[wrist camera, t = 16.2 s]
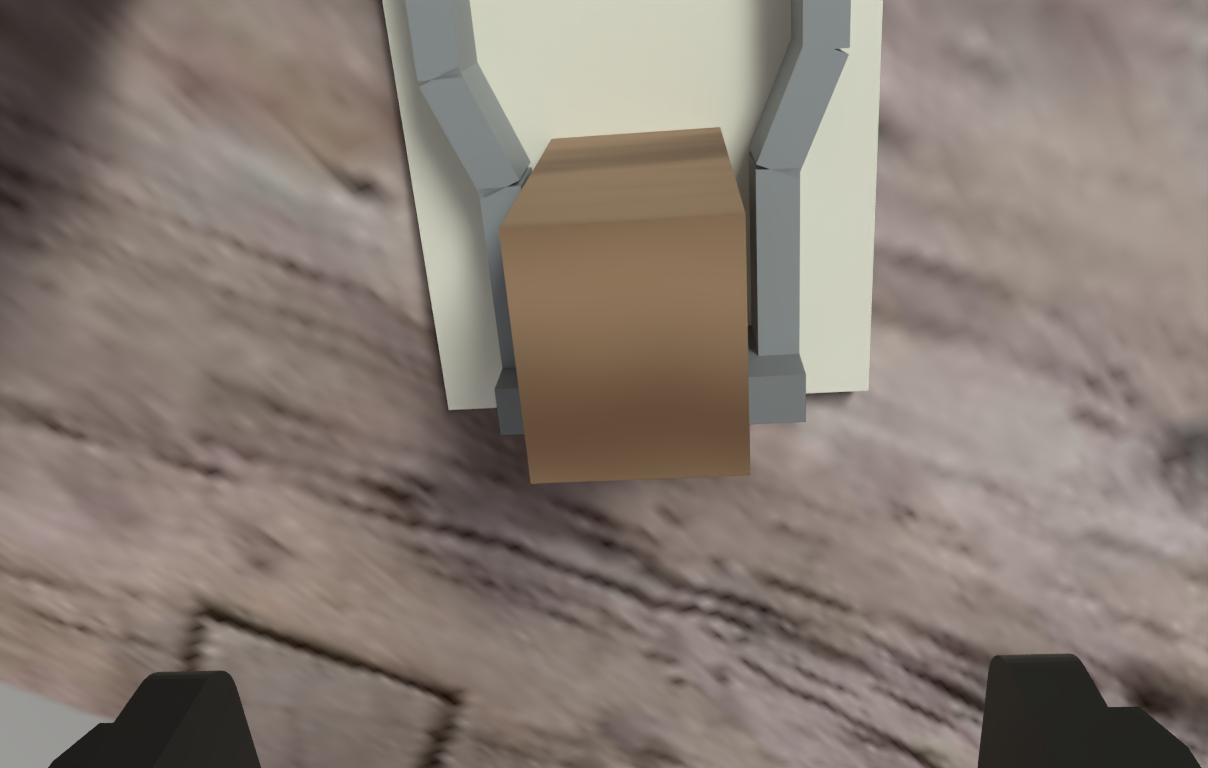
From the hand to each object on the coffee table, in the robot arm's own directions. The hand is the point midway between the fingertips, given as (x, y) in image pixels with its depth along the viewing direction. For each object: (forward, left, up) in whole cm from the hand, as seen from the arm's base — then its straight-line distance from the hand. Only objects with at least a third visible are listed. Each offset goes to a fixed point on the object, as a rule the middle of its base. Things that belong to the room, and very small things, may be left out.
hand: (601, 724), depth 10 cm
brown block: (+1, 0, -21) cm, 21 cm away
